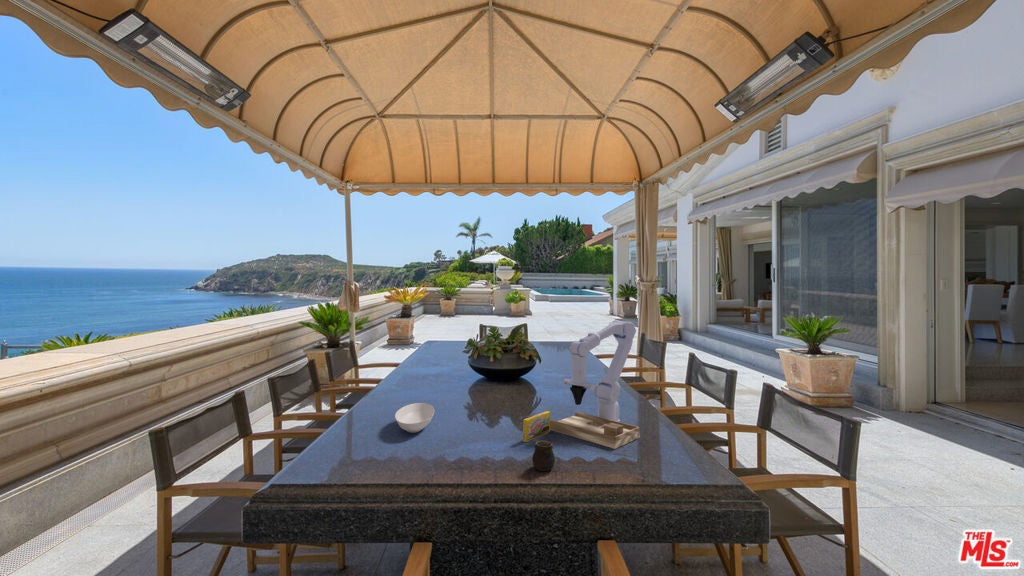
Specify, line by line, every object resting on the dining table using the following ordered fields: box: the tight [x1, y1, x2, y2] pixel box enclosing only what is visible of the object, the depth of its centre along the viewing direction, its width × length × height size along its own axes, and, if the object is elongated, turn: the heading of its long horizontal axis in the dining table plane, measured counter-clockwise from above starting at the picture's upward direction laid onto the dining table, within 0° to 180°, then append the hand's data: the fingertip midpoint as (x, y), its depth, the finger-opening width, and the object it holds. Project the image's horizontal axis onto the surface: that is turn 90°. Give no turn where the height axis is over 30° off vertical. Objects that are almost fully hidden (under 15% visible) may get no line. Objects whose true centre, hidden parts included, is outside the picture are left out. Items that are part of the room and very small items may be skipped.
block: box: [604, 423, 623, 437], centre depth 170 cm, size 5×5×4 cm
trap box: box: [550, 411, 641, 450], centre depth 181 cm, size 18×30×4 cm, turn 46°
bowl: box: [394, 402, 436, 434], centre depth 185 cm, size 30×15×6 cm, turn 4°
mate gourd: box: [531, 440, 556, 472], centre depth 145 cm, size 7×8×10 cm
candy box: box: [521, 410, 551, 443], centre depth 176 cm, size 16×2×8 cm, turn 143°
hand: (578, 404), depth 189 cm, fingers closed
